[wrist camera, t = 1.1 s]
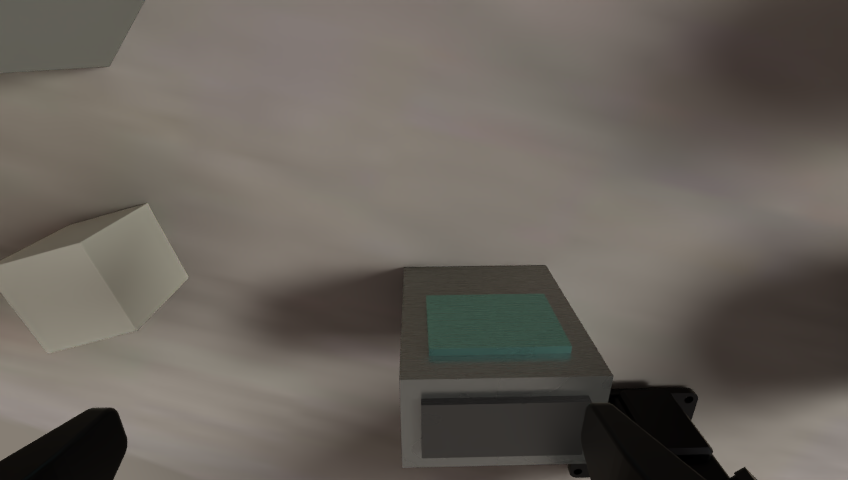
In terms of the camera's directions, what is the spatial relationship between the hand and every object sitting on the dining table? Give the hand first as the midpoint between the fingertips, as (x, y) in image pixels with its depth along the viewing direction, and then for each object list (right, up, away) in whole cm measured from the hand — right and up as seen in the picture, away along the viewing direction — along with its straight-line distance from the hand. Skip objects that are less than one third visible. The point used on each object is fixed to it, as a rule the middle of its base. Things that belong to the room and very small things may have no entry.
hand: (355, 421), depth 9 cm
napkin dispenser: (+4, 0, +14) cm, 15 cm away
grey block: (-13, +3, +13) cm, 18 cm away
